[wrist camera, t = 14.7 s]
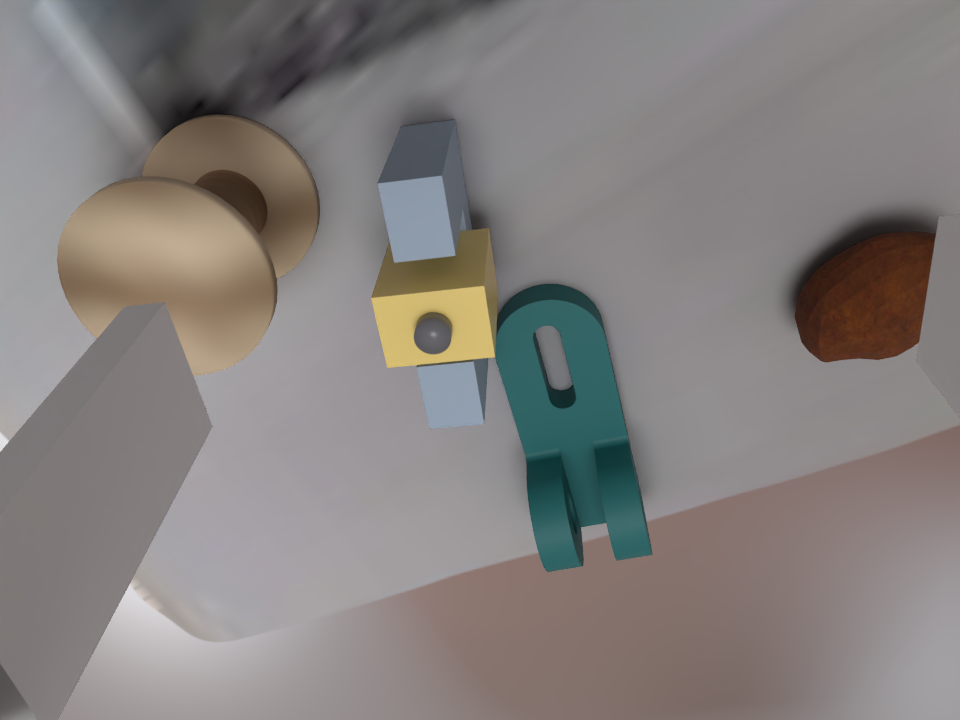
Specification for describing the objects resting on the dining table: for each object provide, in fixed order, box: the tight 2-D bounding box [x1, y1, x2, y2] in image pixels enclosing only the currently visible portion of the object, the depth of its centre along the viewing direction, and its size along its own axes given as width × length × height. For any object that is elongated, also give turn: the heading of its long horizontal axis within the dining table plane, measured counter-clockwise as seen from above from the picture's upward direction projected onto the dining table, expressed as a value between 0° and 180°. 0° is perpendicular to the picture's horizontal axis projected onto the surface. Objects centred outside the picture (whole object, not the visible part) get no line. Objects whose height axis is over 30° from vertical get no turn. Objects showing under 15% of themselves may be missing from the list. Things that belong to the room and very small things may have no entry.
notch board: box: [377, 120, 488, 429], centre depth 45 cm, size 14×3×9 cm, turn 8°
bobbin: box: [57, 114, 320, 375], centre depth 44 cm, size 10×10×11 cm
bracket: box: [495, 284, 652, 572], centre depth 52 cm, size 18×7×8 cm, turn 15°
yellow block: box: [371, 228, 498, 368], centre depth 43 cm, size 4×6×8 cm
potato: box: [795, 232, 936, 362], centre depth 46 cm, size 7×9×6 cm
